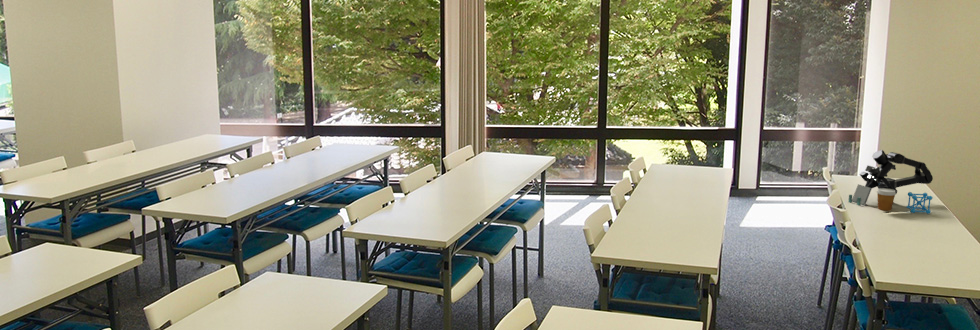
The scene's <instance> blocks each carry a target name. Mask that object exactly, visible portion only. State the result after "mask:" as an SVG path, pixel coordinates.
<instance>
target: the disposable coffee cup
mask: <svg viewBox="0 0 980 330" xmlns="http://www.w3.org/2000/svg"><path fill="white" fill-rule="evenodd" d="M876 194H877V210H879V211H883V213H886V214H887V213H888V214H889V213H890V212H891V211H892V209H893V208H892V207H893V206H894V203H893V202H894V201H895V196H896V195H897V194H896V192H895V190H893V189H886V188H880V189H878V188H877V190H876Z"/></svg>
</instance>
